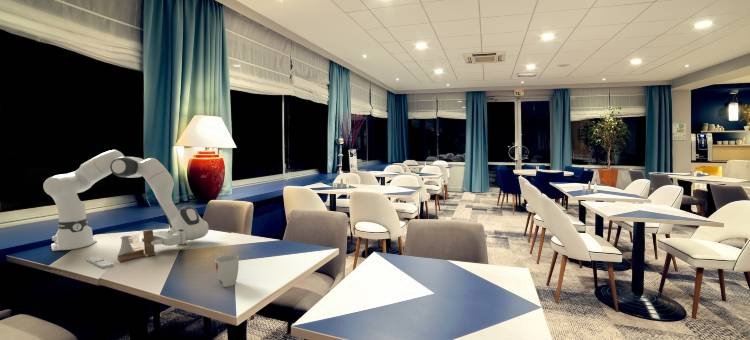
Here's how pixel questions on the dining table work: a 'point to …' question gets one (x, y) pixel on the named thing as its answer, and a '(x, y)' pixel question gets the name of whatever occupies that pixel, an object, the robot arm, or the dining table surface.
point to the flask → (125, 246)
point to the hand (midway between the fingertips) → (146, 241)
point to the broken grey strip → (99, 262)
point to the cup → (227, 269)
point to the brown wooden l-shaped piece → (140, 248)
